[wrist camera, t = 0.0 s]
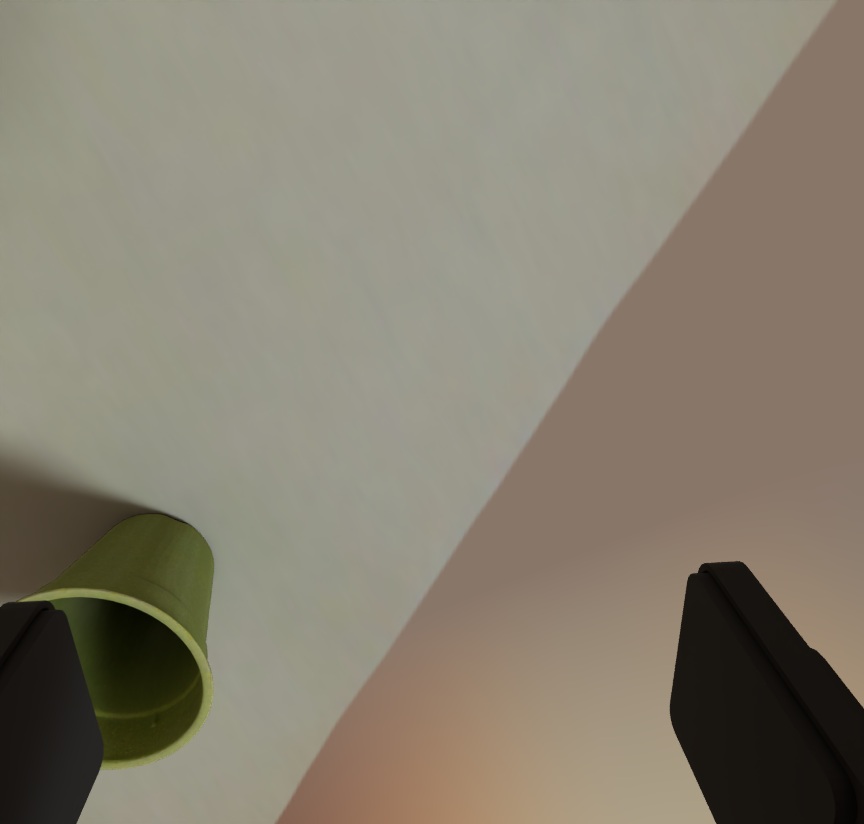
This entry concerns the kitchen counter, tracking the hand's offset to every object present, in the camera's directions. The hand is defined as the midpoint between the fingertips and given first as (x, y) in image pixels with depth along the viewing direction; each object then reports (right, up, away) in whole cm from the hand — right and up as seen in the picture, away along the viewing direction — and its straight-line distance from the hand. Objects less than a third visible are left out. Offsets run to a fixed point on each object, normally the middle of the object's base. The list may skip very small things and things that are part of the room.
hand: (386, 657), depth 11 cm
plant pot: (-17, -6, +36) cm, 40 cm away
